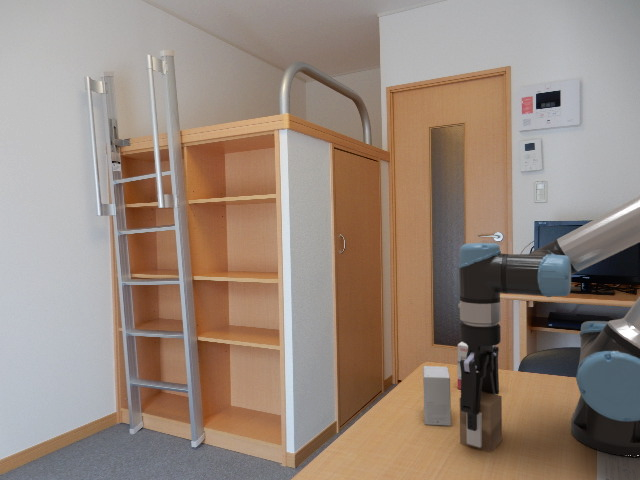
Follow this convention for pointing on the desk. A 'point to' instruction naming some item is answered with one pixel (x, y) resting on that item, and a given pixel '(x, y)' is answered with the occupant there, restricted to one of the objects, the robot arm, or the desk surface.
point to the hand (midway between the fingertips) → (481, 438)
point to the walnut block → (486, 422)
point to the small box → (436, 395)
